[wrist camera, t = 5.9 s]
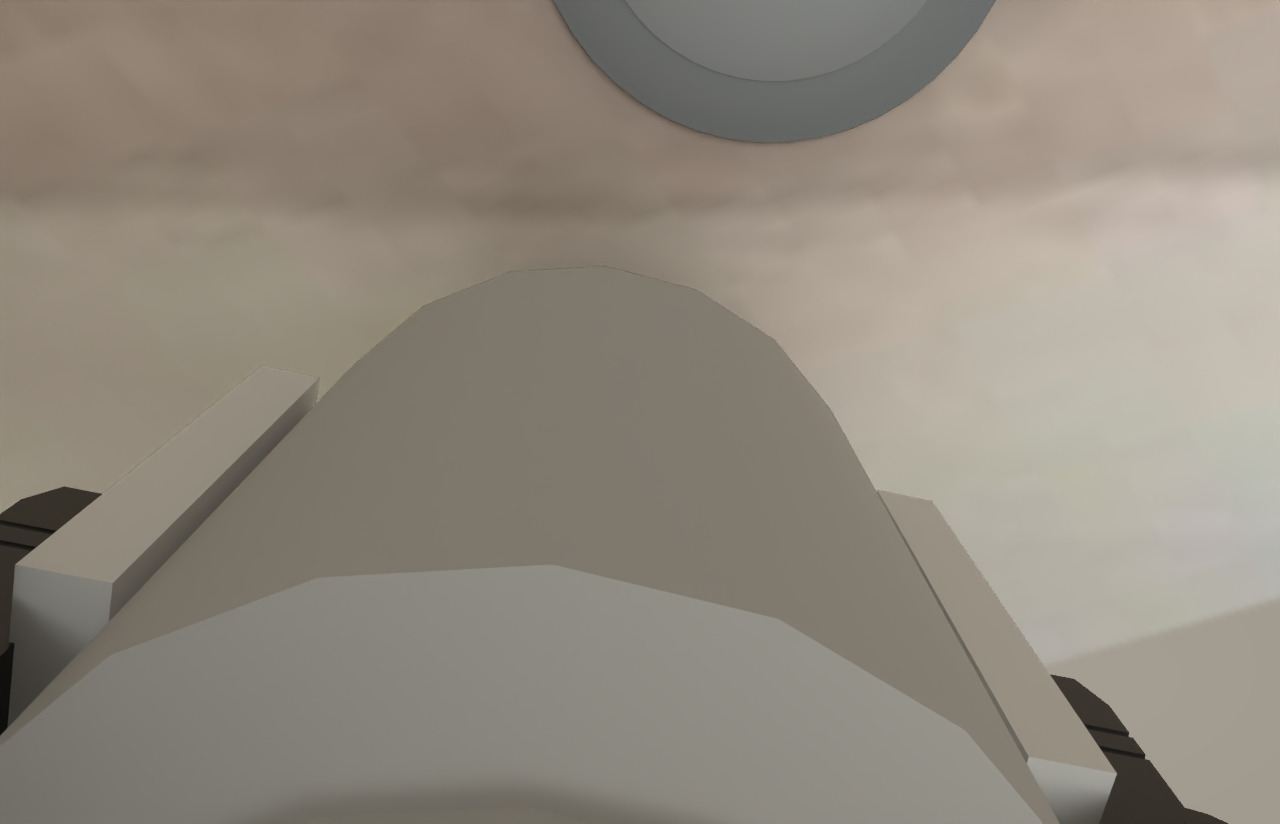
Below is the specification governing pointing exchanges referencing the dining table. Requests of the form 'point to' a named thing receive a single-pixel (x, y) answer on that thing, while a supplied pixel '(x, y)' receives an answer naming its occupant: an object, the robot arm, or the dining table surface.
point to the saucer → (773, 58)
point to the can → (536, 603)
